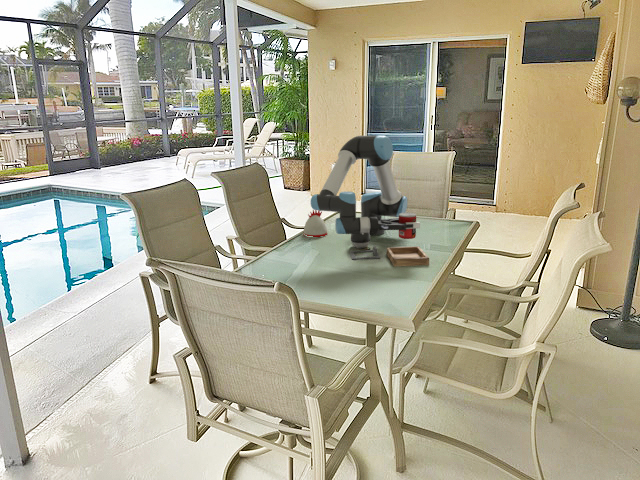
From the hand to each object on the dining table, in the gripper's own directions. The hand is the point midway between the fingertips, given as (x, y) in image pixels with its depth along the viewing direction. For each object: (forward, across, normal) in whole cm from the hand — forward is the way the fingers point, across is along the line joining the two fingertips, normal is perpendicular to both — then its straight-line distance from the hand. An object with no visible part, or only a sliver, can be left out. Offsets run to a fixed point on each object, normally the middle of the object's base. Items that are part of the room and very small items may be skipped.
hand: (417, 223), depth 228 cm
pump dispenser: (-24, -25, -18) cm, 39 cm away
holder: (-24, -10, -17) cm, 31 cm away
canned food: (-5, 0, -7) cm, 8 cm away
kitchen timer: (-46, -55, -18) cm, 74 cm away
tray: (-5, 0, -17) cm, 18 cm away
